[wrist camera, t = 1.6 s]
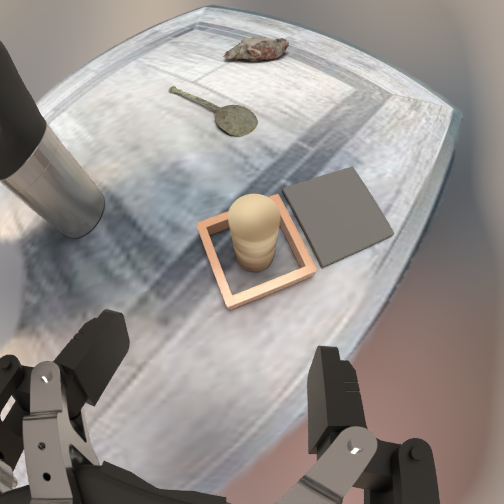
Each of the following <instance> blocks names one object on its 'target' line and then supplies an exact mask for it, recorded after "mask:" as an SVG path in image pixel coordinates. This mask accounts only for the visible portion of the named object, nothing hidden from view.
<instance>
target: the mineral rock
mask: <svg viewBox="0 0 504 504" xmlns="http://www.w3.org/2000/svg"><path fill="white" fill-rule="evenodd" d="M288 46H289V44H288V42H287V41H286V40H285V39H283V38H281V39H276V40H271V39H267V38H251V39H249V38H244V39H243V40H242V41H241V43H239V44H238V45H237V46H235V47H234V48H232V49H231V50H229V51H227V52H226V54H225V55H224V56H223V57H225V58H228V59H241V58H243V59H249V60H250V62H257V61H260V60H267V59H275V58H278V57H280V56H281V55H282V53H283V52H284V51H285V50H286V49H287V47H288Z"/></svg>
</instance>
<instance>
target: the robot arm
mask: <svg viewBox="0 0 504 504" xmlns="http://www.w3.org/2000/svg"><path fill="white" fill-rule="evenodd" d="M0 182H1V183H2V184H3V185H4V186H5V187H7V188H8V189H9V190H10V191H11V192H12V193H14V194H15V195H16V196H17V197H18V198H19V199H21V200H22V201H23V202H24V203H25V204H26V205H28V206H29V207H30V208H31V209H33V210H34V211H35V212H36V213H37V214H39V215H40V216H41V217H42V218H44V219H45V220H46V221H48V222H49V223H50V224H51V225H53V226H54V227H55V228H57V229H58V230H59V231H61V232H62V233H63V234H65V235H66V236H68V237H70V238H79V237H81V236H84V235H85V234H87V233H88V232H89V231H90V230H92V229H93V228H94V226H95V225H96V224H97V222H98V221H99V219H100V217H101V215H102V212H103V209H104V197H103V195H102V193H101V192H100V190H99V189H98V188H97V187H96V186H95V183H94V182H93V181H92V180H91V178H90V177H89V176H88V175H87V173H86V172H85V171H84V170H83V168H82V167H81V166H80V165H79V163H78V162H77V161H76V160H75V158H74V157H73V156H72V154H71V153H70V152H69V151H68V150H67V149H66V148H65V146H64V145H63V144H62V142H61V141H60V140H59V138H58V137H57V136H56V135H55V133H54V132H53V131H52V129H51V128H50V126H49V125H48V124H47V122H46V121H45V119H44V118H43V117H42V115H41V114H40V112H39V110H38V108H37V106H36V104H35V102H34V100H33V98H32V96H31V95H30V93H29V91H28V90H27V88H26V87H25V85H24V83H23V81H22V79H21V77H20V75H19V74H18V71H17V69H16V67H15V65H14V63H13V61H12V59H11V57H10V55H9V53H8V51H7V50H6V48H5V46H4V45H3V43H2V42H1V41H0ZM129 344H130V341H129V336H128V332H127V328H126V324H125V320H124V316H123V314H122V313H120V312H116V311H112V310H108V309H106V310H104V311H103V312H102V313H101V314H100V315H99V316H98V318H93V319H92V320H90V321H88V322H87V323H85V324H84V325H83V327H82V328H81V329H80V330H79V332H78V333H77V334H76V335H75V336H74V337H73V339H71V341H70V342H69V343H68V344H67V345H66V347H65V348H64V349H63V350H62V351H61V353H60V354H59V355H58V356H57V358H56V359H55V360H54V361H53V362H51V361H45V362H41V363H39V364H38V365H36V366H35V367H28V366H23V365H21V364H20V362H19V360H18V358H17V357H16V356H14V355H5V356H3V357H1V358H0V414H1V411H2V409H3V408H4V406H5V405H6V403H7V401H8V400H9V398H10V397H11V395H12V397H13V398H14V399H15V400H16V401H15V403H14V405H13V406H12V408H11V409H10V411H9V413H8V414H7V416H6V418H5V419H4V421H3V422H2V421H1V418H0V504H230V503H228V502H226V497H221V496H215V495H210V494H205V493H200V492H195V491H179V490H164V489H158V488H156V487H154V486H153V485H151V484H149V483H147V482H146V481H144V480H143V479H141V478H139V477H138V476H136V475H135V474H133V473H132V472H130V471H127V470H125V469H122V468H120V467H118V466H115V465H113V464H111V463H108V462H106V461H104V462H103V464H102V466H101V465H100V463H99V460H98V458H97V456H96V454H95V452H94V450H93V448H92V446H91V442H90V437H89V433H88V428H87V423H86V418H85V412H84V409H83V406H84V404H85V402H86V403H88V404H90V405H92V406H94V407H95V405H96V403H97V401H98V400H99V398H100V396H101V395H102V393H103V391H104V390H105V388H106V386H107V385H108V383H109V381H110V380H111V378H112V376H113V375H114V373H115V371H116V370H117V368H118V366H119V365H120V363H121V362H122V360H123V358H124V357H125V355H126V354H127V352H128V349H129ZM359 391H360V390H359V385H358V380H357V376H356V371H355V369H354V368H353V366H352V365H351V364H350V362H349V361H344V360H340V356H339V351H338V348H337V347H328V346H318V347H317V349H316V352H315V355H314V358H313V361H312V364H311V367H310V370H309V374H308V380H307V394H308V435H309V436H308V443H309V444H308V448H309V449H308V451H309V454H317V462H316V463H315V464H314V465H313V466H312V468H311V469H310V470H309V471H308V472H307V473H306V474H305V475H304V476H303V477H302V478H301V479H300V480H299V481H298V482H297V483H296V484H295V485H294V486H293V487H292V488H291V489H290V490H289V491H288V492H287V493H286V494H285V495H284V496H282V497H281V498H280V499H279V500H278V501H277V502H276V503H275V504H342V500H343V498H344V496H345V495H346V494H347V492H348V491H349V490H350V488H351V487H356V488H362V489H364V504H440V500H439V491H438V483H437V477H436V470H435V465H434V458H433V454H432V450H431V447H430V446H429V444H428V443H427V442H425V441H424V440H422V439H419V438H412V439H409V440H407V441H405V442H404V443H403V444H402V445H401V444H395V443H390V442H385V441H381V440H379V439H377V438H375V436H374V434H373V433H372V432H371V431H369V430H368V428H367V426H366V422H365V417H364V410H363V405H362V400H361V395H360V393H359ZM23 450H24V452H25V460H26V468H27V475H28V480H29V485H26V486H23V487H20V488H16V489H13V490H12V487H16V486H17V484H18V482H17V479H16V478H15V477H14V475H13V471H14V469H15V466H16V464H17V462H18V460H19V458H20V456H21V454H22V452H23Z"/></svg>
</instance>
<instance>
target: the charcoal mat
mask: <svg viewBox="0 0 504 504" xmlns="http://www.w3.org/2000/svg"><path fill="white" fill-rule="evenodd" d="M282 192H283V194H284V196H285V198H286V200H287V201H288V203H289V205H290V207H291V209H292V211H293V213H294V215H295V216H296V218H297V220H298V222H299V224H300V226H301V228H302V230H303V232H304V234H305V236H306V238H307V240H308V242H309V244H310V246H311V248H312V250H313V252H314V254H315V256H316V258H317V260H318V262H319V264H320V266H321V268H323V267H325V266H327V265H330V264H332V263H334V262H336V261H339V260H341V259H343V258H345V257H348V256H350V255H352V254H354V253H356V252H359V251H361V250H363V249H365V248H367V247H369V246H372V245H374V244H376V243H378V242H380V241H382V240H384V239H387V238H389V237H391V236H392V235H393V234H394V232H393V230H392V228H391V227H390V225H389V223H388V221H387V220H386V218H385V216H384V215H383V213H382V211H381V210H380V208H379V206H378V205H377V203H376V201H375V200H374V198H373V197H372V195H371V193H370V192H369V190H368V189H367V187H366V186H365V184H364V183H363V181H362V180H361V178H360V177H359V175H358V174H357V172H356V171H355V169H354V168H353V167H350V168H346V169H343V170H340V171H336V172H333V173H330V174H326V175H323V176H320V177H317V178H313V179H310V180H307V181H304V182H301V183H298V184H295V185H291V186H288V187H285V188H283V189H282Z"/></svg>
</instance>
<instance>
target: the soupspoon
mask: <svg viewBox="0 0 504 504" xmlns="http://www.w3.org/2000/svg"><path fill="white" fill-rule="evenodd" d="M169 92H170V93H172V92H173V93H178V94H182V95H184V96H187V97H189V98H191V99H194V100H196V101H198V102H201V103H203V104H205V105H207V106H208V107H210V108H212V109H214V110H215V111H216V112H215V120H216V123H217V124H218V125H219V127H220V128H221V129H223V130H224V131H226V132H227V133H229V134H230V135H233V136H238V137H241V136H244V135H247V134H249V133H251V132H252V131H253V130H254V129H255V128H256V126H257V124H258V120H257V118H256V116H255V115H254V114H253V113H252V112H251V111H250V110H249V109H247V108H245V107H242V106H239V105H228V106H224V107H221V108H220V107H218V106H216V105H214V104H212V103H210V102H208V101H206V100H203V99H201V98H198V97H196V96H193V95H190V94H188V93H185V92H182V91H181V90H178V89H176V87H175V86H172V87H170V88H169Z"/></svg>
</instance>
